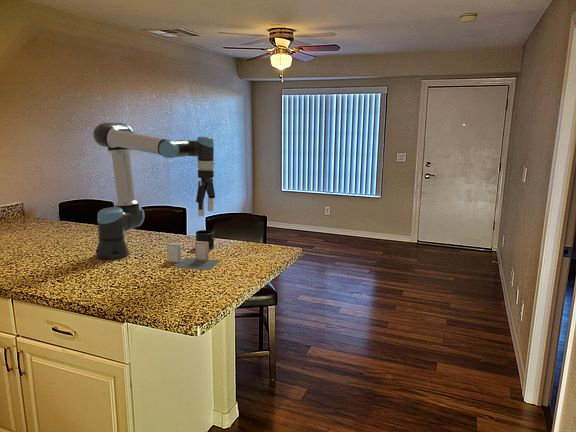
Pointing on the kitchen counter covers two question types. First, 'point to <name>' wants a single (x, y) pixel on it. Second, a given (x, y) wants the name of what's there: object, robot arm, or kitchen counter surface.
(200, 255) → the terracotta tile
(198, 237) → the mug
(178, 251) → the grey tile
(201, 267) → the mat
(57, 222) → the kitchen counter surface
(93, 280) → the kitchen counter surface
